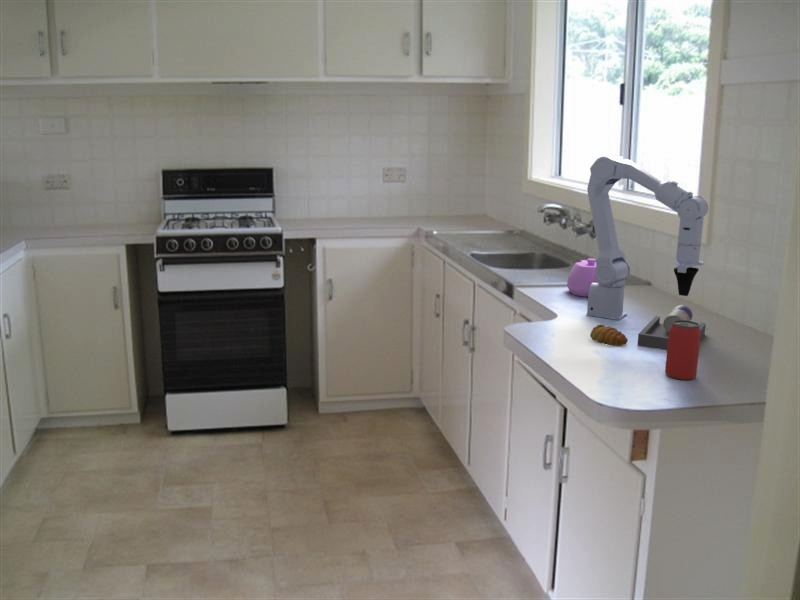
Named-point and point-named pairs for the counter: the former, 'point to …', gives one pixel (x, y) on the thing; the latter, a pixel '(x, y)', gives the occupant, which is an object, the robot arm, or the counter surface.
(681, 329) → the beer can
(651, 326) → the tray
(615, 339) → the pastry
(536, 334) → the counter surface
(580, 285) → the teapot
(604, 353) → the counter surface
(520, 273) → the counter surface
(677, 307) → the energy drink
